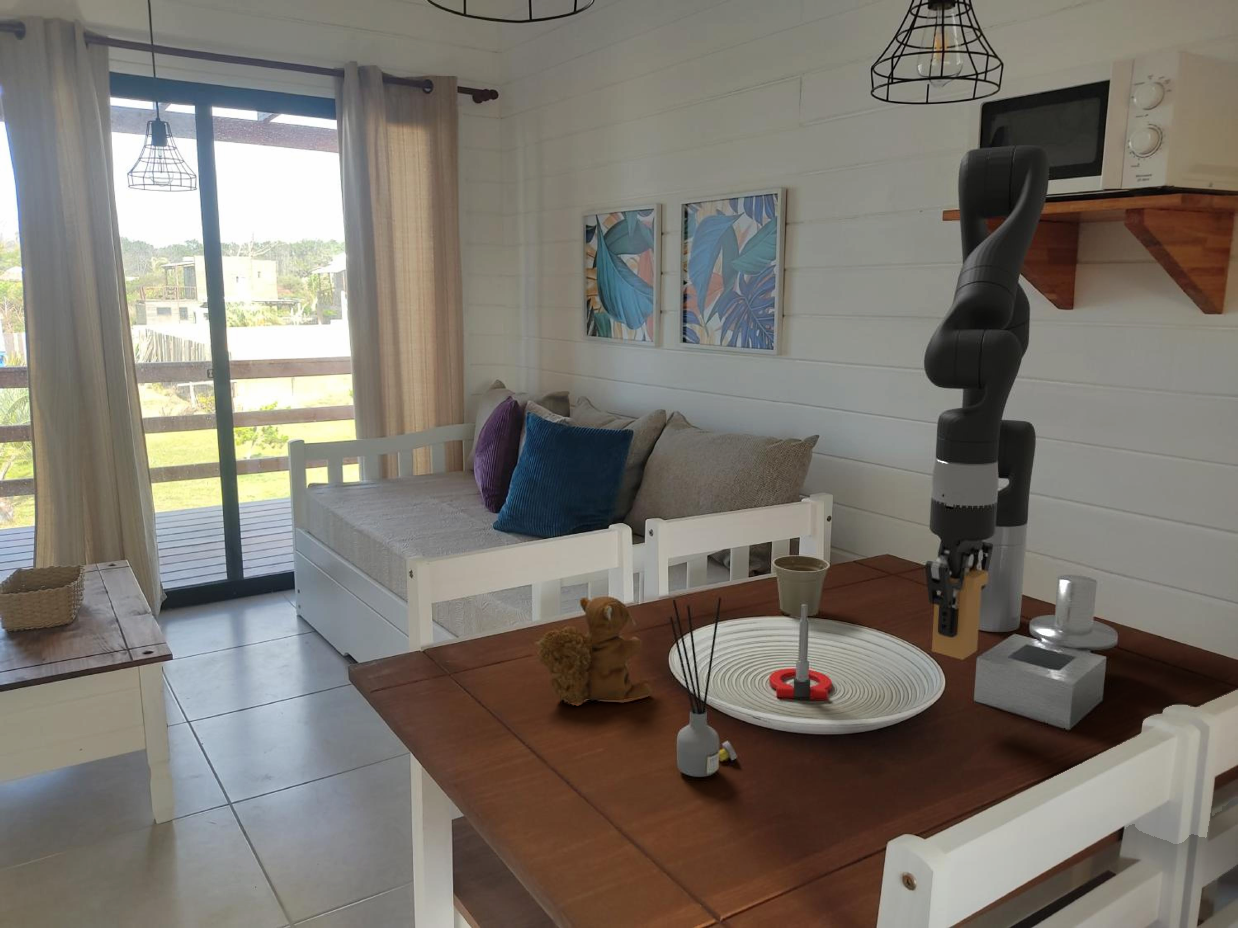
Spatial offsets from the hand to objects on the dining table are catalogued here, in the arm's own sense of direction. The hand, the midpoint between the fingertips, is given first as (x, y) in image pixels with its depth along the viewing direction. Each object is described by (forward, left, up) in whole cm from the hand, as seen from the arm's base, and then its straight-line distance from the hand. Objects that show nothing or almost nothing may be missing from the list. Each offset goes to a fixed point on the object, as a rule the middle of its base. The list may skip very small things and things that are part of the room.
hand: (955, 629), depth 116 cm
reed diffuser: (-15, -32, -12) cm, 37 cm away
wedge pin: (0, 0, -3) cm, 3 cm away
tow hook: (-19, -5, -12) cm, 23 cm away
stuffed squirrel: (-37, -27, -12) cm, 48 cm away
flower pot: (-36, +20, -12) cm, 43 cm away
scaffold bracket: (+6, +18, -12) cm, 22 cm away
